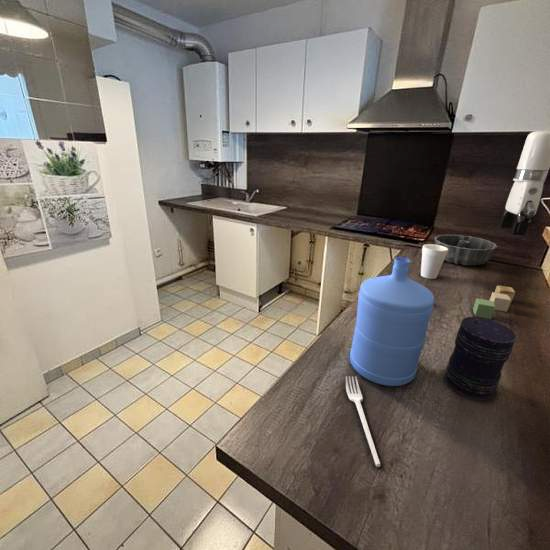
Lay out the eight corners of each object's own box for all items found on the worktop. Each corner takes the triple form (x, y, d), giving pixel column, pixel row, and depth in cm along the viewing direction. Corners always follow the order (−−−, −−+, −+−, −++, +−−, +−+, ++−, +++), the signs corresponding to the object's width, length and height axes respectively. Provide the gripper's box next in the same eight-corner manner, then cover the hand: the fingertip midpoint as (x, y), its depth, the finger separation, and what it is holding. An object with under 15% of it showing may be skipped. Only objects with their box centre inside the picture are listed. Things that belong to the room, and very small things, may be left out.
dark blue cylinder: (505, 394, 64) (529, 338, 58) (470, 404, 61) (492, 346, 56) (466, 365, 73) (483, 313, 67) (434, 372, 70) (450, 319, 64)
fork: (368, 468, 49) (370, 460, 48) (343, 381, 67) (344, 375, 67) (387, 468, 49) (389, 461, 48) (356, 382, 68) (358, 375, 67)
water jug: (429, 384, 67) (462, 271, 56) (365, 391, 64) (387, 275, 53) (393, 343, 81) (414, 247, 70) (340, 348, 78) (352, 249, 68)
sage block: (488, 312, 98) (492, 300, 96) (491, 319, 94) (495, 306, 92) (472, 309, 99) (476, 298, 98) (474, 315, 96) (478, 303, 94)
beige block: (503, 306, 102) (507, 294, 101) (506, 311, 99) (511, 300, 97) (488, 303, 104) (492, 292, 102) (491, 309, 100) (495, 297, 98)
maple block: (507, 298, 108) (511, 287, 106) (511, 303, 104) (515, 292, 102) (493, 295, 110) (497, 285, 108) (496, 301, 106) (500, 289, 104)
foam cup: (442, 281, 121) (449, 252, 116) (417, 278, 124) (424, 249, 119) (438, 273, 129) (445, 245, 124) (416, 270, 132) (422, 243, 127)
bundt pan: (435, 266, 138) (440, 245, 134) (426, 249, 162) (430, 232, 158) (499, 273, 131) (507, 252, 128) (480, 255, 155) (486, 236, 151)
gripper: (561, 178, 80) (538, 239, 86) (530, 174, 95) (513, 226, 102) (529, 177, 82) (508, 236, 88) (504, 174, 97) (488, 224, 104)
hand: (511, 231), depth 95 cm, fingers open, 9 cm apart
